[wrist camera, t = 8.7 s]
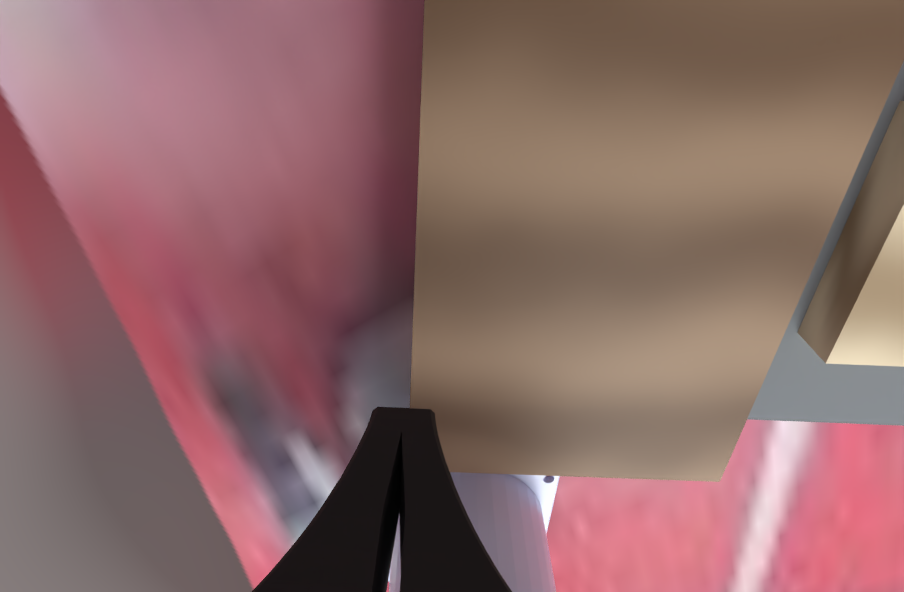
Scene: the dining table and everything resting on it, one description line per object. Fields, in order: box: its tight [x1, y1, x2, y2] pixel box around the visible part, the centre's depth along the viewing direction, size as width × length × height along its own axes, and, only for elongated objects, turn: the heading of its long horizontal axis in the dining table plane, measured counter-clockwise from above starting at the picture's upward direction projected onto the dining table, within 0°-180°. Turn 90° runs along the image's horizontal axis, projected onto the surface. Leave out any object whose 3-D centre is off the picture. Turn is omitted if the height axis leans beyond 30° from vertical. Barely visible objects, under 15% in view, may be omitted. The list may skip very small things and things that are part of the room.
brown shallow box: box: [410, 0, 904, 482], centre depth 19 cm, size 18×12×4 cm, turn 176°
